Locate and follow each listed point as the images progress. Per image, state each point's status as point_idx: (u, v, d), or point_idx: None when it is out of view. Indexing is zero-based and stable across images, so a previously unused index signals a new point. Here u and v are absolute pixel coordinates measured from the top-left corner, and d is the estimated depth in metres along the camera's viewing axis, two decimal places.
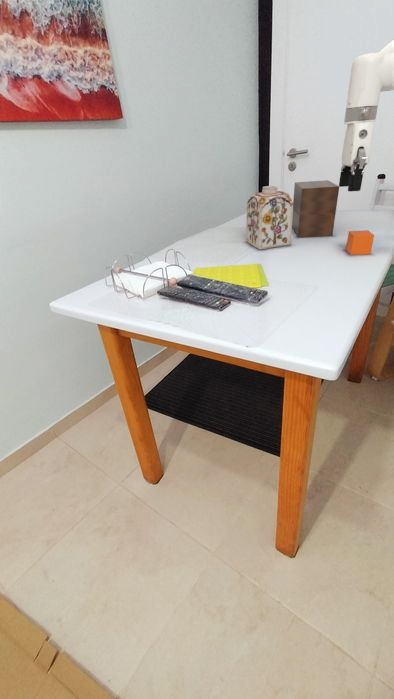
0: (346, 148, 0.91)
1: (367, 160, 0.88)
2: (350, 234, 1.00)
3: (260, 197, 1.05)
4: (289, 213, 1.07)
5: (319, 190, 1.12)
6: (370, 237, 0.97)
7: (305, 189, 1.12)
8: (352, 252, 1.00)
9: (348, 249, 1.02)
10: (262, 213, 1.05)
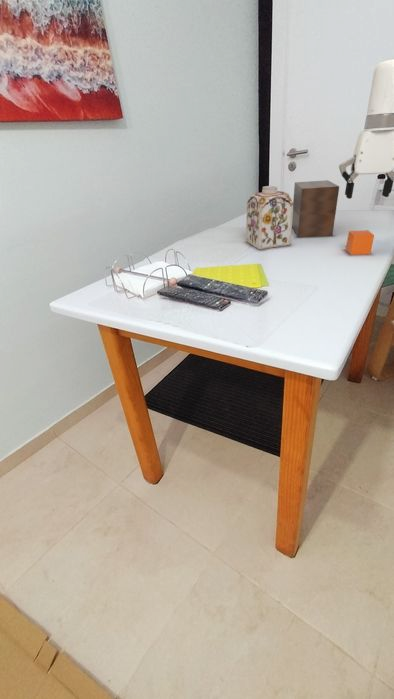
0: (380, 155, 0.87)
1: None
2: (350, 234, 1.00)
3: (260, 197, 1.05)
4: (289, 213, 1.07)
5: (319, 190, 1.12)
6: (370, 237, 0.97)
7: (305, 189, 1.12)
8: (352, 252, 1.00)
9: (348, 249, 1.02)
10: (262, 213, 1.05)
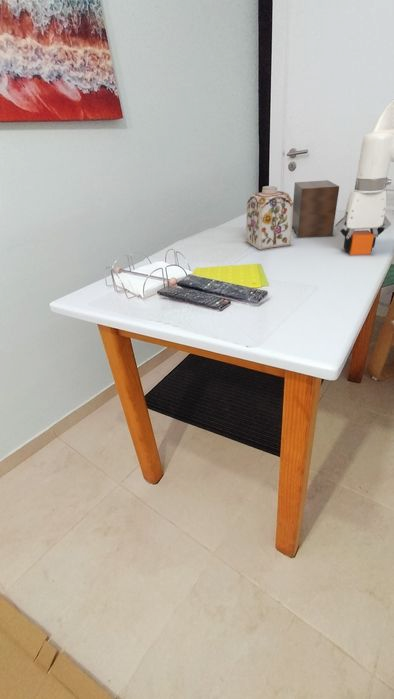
0: (369, 213, 0.94)
1: None
2: None
3: (260, 197, 1.05)
4: (289, 213, 1.07)
5: (319, 190, 1.12)
6: (370, 237, 0.97)
7: (305, 189, 1.12)
8: (352, 252, 1.00)
9: None
10: (262, 213, 1.05)
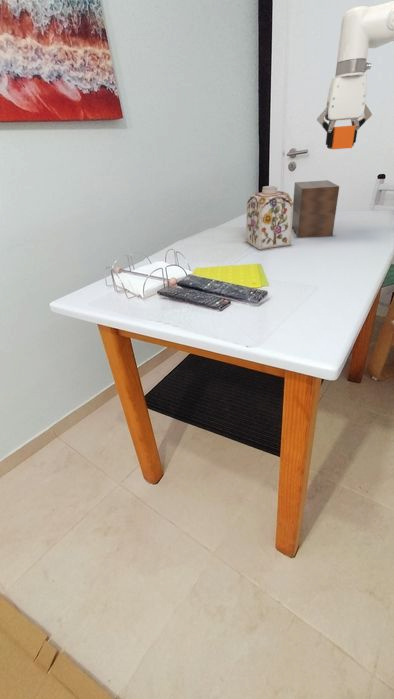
0: (350, 101, 0.94)
1: None
2: None
3: (260, 197, 1.05)
4: (289, 213, 1.07)
5: (319, 190, 1.12)
6: (351, 127, 0.97)
7: (305, 189, 1.12)
8: (334, 146, 1.00)
9: None
10: (262, 213, 1.05)
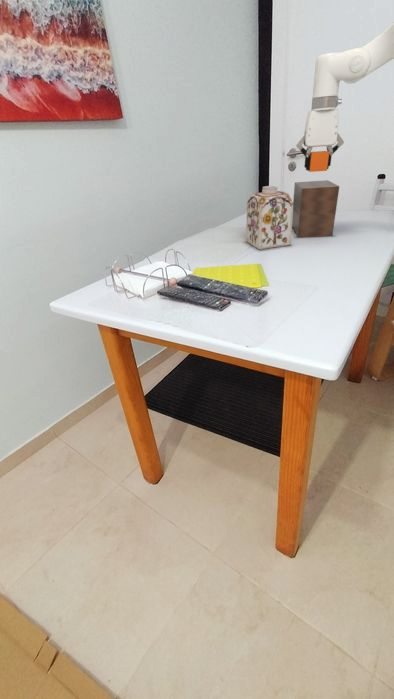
0: (324, 131, 1.08)
1: None
2: None
3: (260, 197, 1.05)
4: (289, 213, 1.07)
5: (319, 190, 1.12)
6: (326, 153, 1.11)
7: (305, 189, 1.12)
8: (311, 169, 1.14)
9: None
10: (262, 213, 1.05)
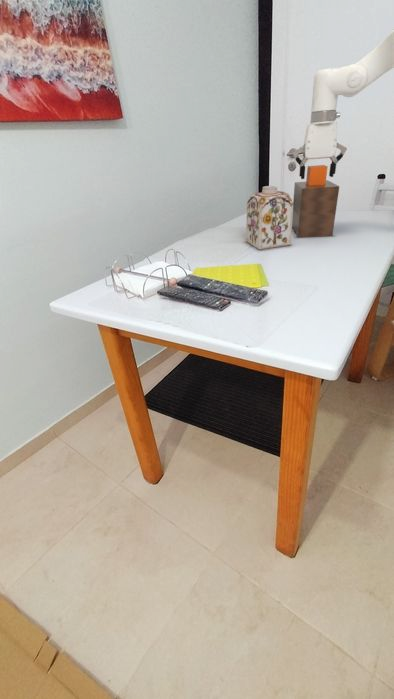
0: (323, 143, 1.10)
1: None
2: (308, 168, 1.16)
3: (260, 197, 1.05)
4: (289, 213, 1.07)
5: (319, 190, 1.12)
6: (324, 168, 1.13)
7: (305, 189, 1.12)
8: (310, 183, 1.16)
9: (307, 182, 1.18)
10: (262, 213, 1.05)
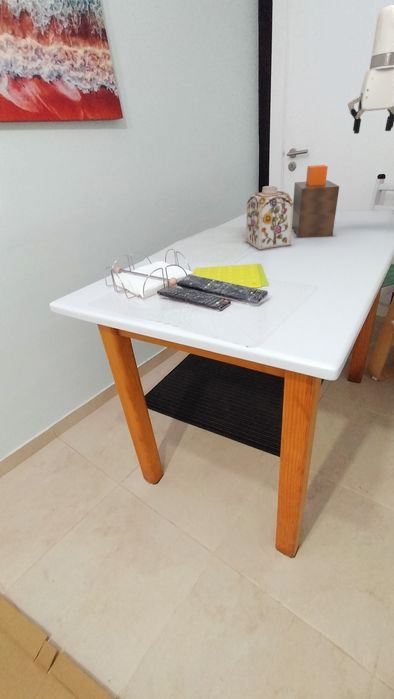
0: (383, 92, 1.01)
1: None
2: (308, 168, 1.16)
3: (260, 197, 1.05)
4: (289, 213, 1.07)
5: (319, 190, 1.12)
6: (324, 168, 1.13)
7: (305, 189, 1.12)
8: (310, 183, 1.16)
9: (307, 182, 1.18)
10: (262, 213, 1.05)
